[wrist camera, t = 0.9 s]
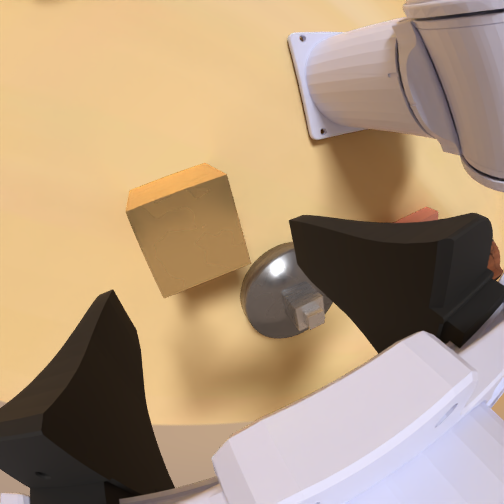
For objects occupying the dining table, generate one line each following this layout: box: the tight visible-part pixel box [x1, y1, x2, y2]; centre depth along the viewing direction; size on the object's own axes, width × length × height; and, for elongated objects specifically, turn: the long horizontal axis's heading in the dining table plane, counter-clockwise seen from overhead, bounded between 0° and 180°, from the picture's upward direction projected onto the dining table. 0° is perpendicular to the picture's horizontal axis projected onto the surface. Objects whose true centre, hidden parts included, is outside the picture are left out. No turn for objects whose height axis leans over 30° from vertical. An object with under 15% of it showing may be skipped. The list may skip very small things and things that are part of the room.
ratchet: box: [240, 207, 438, 338], centre depth 24 cm, size 22×8×5 cm, turn 105°
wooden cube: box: [126, 163, 251, 298], centre depth 16 cm, size 5×5×5 cm
